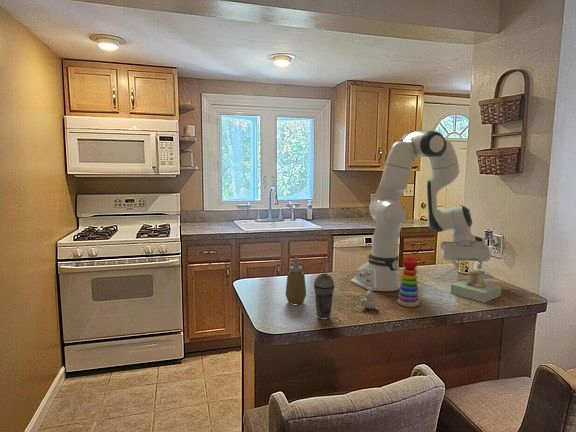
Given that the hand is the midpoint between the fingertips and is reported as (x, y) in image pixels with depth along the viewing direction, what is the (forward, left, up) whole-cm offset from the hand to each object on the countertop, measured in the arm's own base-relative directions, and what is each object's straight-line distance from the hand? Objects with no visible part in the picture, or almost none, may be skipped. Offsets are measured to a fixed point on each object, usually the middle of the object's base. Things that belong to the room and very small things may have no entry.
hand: (468, 268), depth 173 cm
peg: (+8, -8, -8) cm, 14 cm away
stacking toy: (-2, -40, -9) cm, 41 cm away
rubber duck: (-8, -56, -9) cm, 57 cm away
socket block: (+8, -8, -8) cm, 14 cm away
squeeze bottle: (-29, -74, -9) cm, 80 cm away
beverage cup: (-12, -75, -9) cm, 76 cm away
